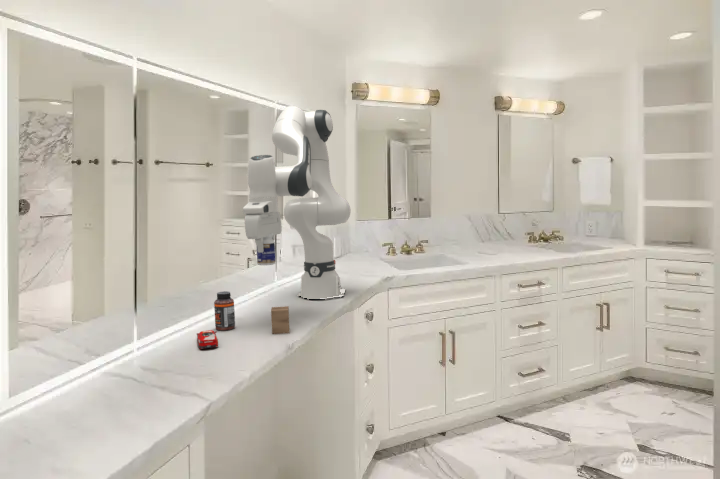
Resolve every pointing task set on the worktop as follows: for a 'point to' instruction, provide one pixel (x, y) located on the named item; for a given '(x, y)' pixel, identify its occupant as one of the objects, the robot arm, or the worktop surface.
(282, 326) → the walnut block
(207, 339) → the race car
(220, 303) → the supplement bottle
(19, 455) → the worktop surface
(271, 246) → the pill bottle
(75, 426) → the worktop surface
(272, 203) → the robot arm
